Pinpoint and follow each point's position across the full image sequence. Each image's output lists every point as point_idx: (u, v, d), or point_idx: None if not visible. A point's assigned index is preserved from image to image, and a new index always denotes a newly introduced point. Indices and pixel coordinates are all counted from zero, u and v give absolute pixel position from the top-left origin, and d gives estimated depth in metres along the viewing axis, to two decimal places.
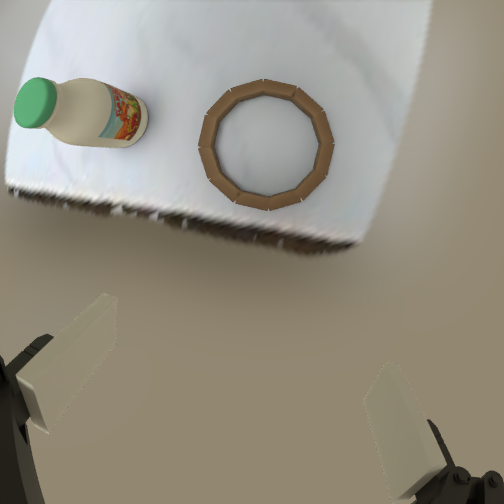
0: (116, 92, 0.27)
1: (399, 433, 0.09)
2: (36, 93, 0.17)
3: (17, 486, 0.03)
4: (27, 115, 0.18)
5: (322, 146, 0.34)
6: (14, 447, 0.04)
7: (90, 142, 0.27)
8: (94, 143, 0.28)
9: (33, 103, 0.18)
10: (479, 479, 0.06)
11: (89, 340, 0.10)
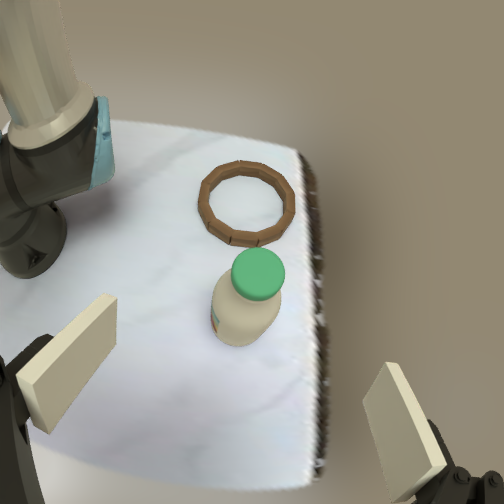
0: None
1: (399, 433, 0.09)
2: (251, 259, 0.26)
3: (16, 486, 0.03)
4: (273, 268, 0.26)
5: (243, 166, 0.52)
6: (14, 447, 0.04)
7: None
8: None
9: (261, 264, 0.26)
10: (479, 479, 0.06)
11: (89, 340, 0.10)
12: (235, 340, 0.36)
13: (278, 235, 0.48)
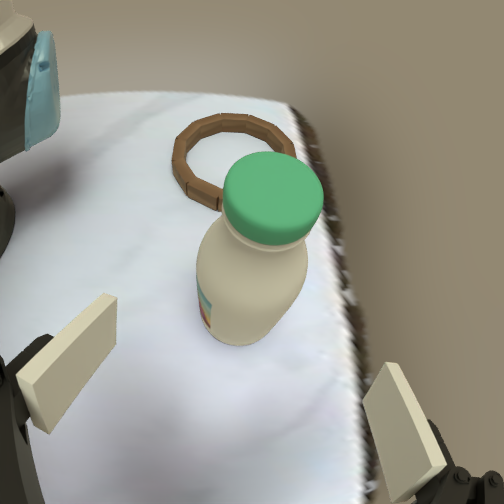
0: None
1: (399, 433, 0.09)
2: (259, 168, 0.13)
3: (17, 486, 0.03)
4: (301, 180, 0.13)
5: (225, 118, 0.40)
6: (14, 447, 0.04)
7: None
8: None
9: (278, 175, 0.14)
10: (479, 479, 0.06)
11: (89, 340, 0.10)
12: (239, 335, 0.24)
13: None
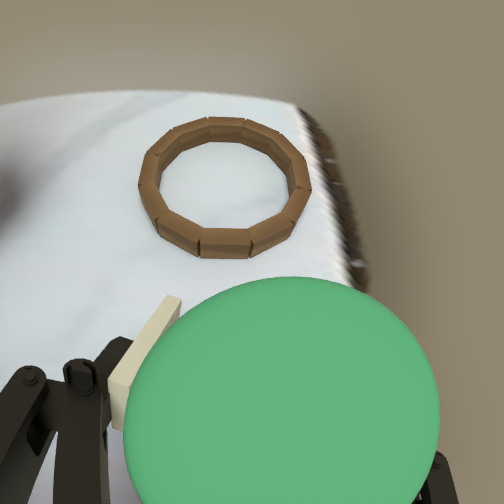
0: None
1: None
2: (246, 375, 0.03)
3: (93, 496, 0.04)
4: (392, 403, 0.03)
5: (214, 124, 0.30)
6: (98, 457, 0.05)
7: None
8: None
9: (315, 390, 0.03)
10: None
11: None
12: None
13: (287, 231, 0.26)
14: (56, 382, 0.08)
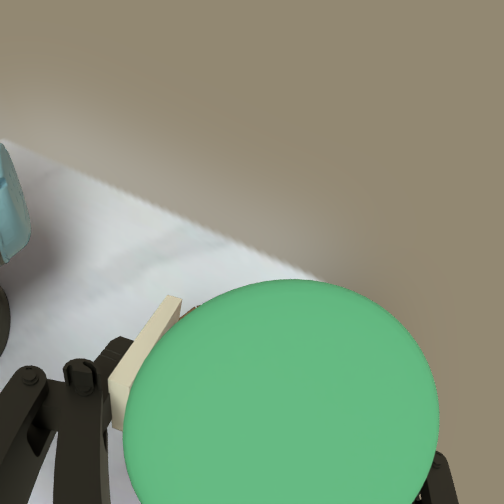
0: None
1: None
2: (244, 379, 0.03)
3: (93, 496, 0.04)
4: (391, 406, 0.03)
5: None
6: (98, 457, 0.05)
7: None
8: None
9: (314, 392, 0.03)
10: None
11: None
12: None
13: None
14: (56, 382, 0.08)
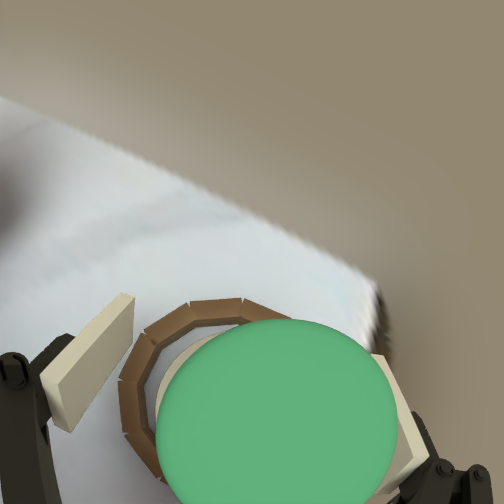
0: None
1: None
2: (244, 395, 0.05)
3: (36, 488, 0.04)
4: (355, 413, 0.05)
5: (246, 317, 0.23)
6: (36, 449, 0.05)
7: None
8: None
9: (296, 403, 0.05)
10: (464, 473, 0.06)
11: (109, 339, 0.11)
12: None
13: None
14: None
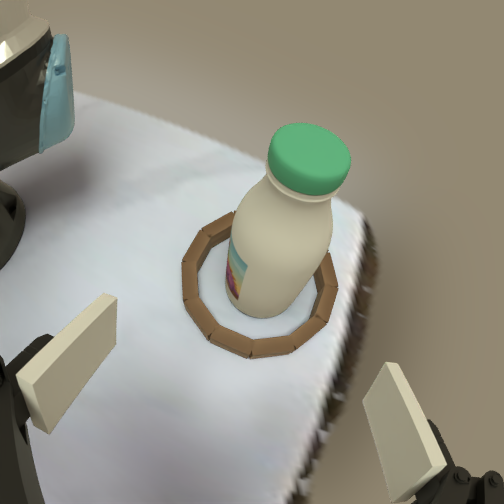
0: None
1: (399, 433, 0.09)
2: (298, 134, 0.16)
3: (17, 486, 0.03)
4: (332, 144, 0.16)
5: None
6: (14, 447, 0.04)
7: None
8: None
9: (313, 140, 0.16)
10: (479, 479, 0.06)
11: (89, 340, 0.10)
12: (268, 301, 0.26)
13: (288, 352, 0.28)
14: None
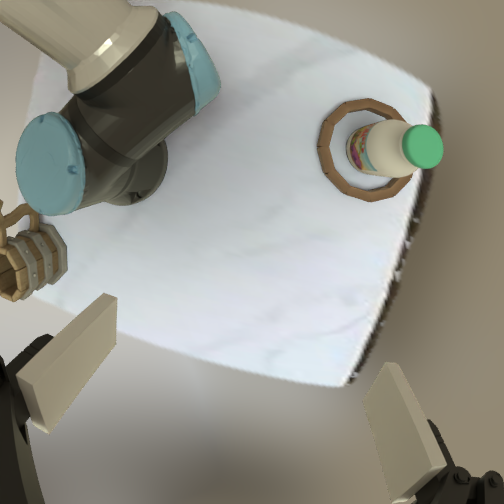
0: (365, 131, 0.35)
1: (399, 433, 0.09)
2: (419, 138, 0.25)
3: (16, 486, 0.03)
4: (435, 142, 0.25)
5: (372, 107, 0.40)
6: (14, 447, 0.04)
7: None
8: None
9: (426, 139, 0.25)
10: (479, 479, 0.06)
11: (89, 340, 0.10)
12: None
13: None
14: None
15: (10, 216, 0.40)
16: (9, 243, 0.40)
